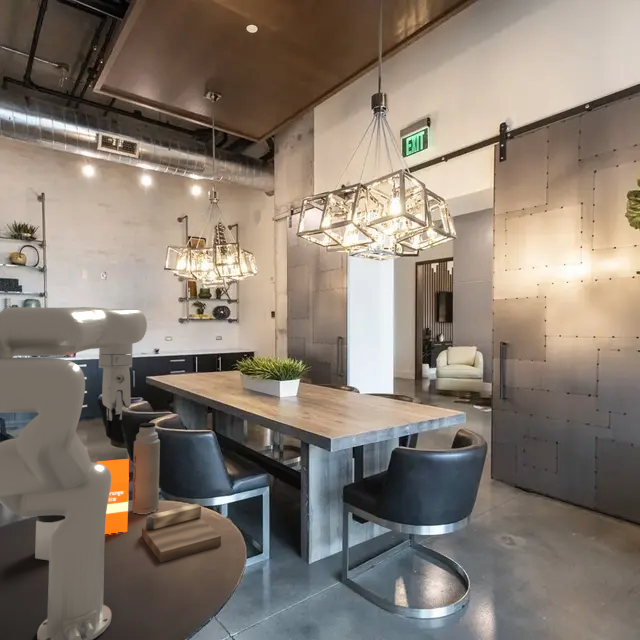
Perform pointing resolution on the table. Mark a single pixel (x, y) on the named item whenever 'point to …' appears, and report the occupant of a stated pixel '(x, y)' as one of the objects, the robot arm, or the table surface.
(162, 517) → the hinged leg
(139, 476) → the thermos bottle
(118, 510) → the orange juice
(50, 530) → the jar
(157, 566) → the table surface
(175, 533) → the stool top
